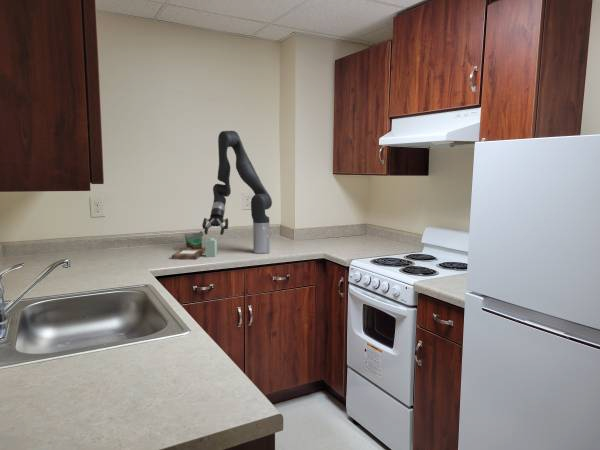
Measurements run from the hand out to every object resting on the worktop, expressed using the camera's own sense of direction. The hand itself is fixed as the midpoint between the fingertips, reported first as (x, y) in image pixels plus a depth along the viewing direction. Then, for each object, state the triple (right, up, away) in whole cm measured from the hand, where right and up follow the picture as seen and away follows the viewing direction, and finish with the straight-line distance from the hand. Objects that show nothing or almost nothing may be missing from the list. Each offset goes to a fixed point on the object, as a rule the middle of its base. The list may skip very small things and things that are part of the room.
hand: (213, 234), depth 251 cm
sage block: (0, -12, -5) cm, 13 cm away
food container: (-13, -9, +13) cm, 20 cm away
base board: (-13, -12, -5) cm, 18 cm away
